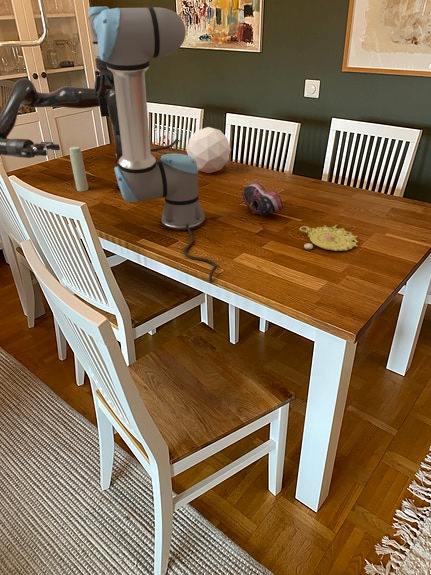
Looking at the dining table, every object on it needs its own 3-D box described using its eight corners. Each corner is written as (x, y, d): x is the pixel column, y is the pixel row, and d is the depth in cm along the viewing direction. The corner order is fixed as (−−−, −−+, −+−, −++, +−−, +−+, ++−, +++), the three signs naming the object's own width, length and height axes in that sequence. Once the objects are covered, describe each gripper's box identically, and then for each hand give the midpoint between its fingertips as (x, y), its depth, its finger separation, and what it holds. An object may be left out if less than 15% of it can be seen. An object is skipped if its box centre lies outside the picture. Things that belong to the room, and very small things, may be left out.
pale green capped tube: (90, 188, 188) (83, 147, 178) (82, 192, 184) (74, 150, 175) (82, 186, 190) (74, 145, 181) (74, 190, 187) (65, 148, 177)
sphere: (214, 188, 203) (213, 162, 184) (180, 167, 207) (175, 139, 188) (238, 160, 207) (239, 131, 189) (204, 140, 212) (202, 110, 193)
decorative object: (343, 255, 128) (285, 234, 139) (342, 262, 130) (284, 241, 140) (372, 230, 142) (317, 213, 152) (371, 237, 143) (316, 219, 153)
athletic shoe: (254, 181, 170) (227, 189, 167) (283, 176, 151) (253, 185, 147) (260, 210, 173) (234, 218, 170) (290, 209, 154) (261, 219, 150)
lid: (117, 191, 184) (116, 186, 183) (117, 186, 189) (117, 181, 188) (130, 190, 185) (130, 185, 183) (131, 185, 189) (130, 180, 188)
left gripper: (34, 152, 194) (65, 154, 189) (11, 161, 183) (44, 164, 178) (29, 134, 190) (61, 136, 185) (6, 143, 179) (39, 145, 174)
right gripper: (134, 57, 155) (141, 121, 166) (95, 54, 170) (104, 112, 181) (116, 59, 150) (124, 124, 162) (78, 56, 165) (88, 115, 177)
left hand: (52, 150), depth 182 cm, fingers open, 8 cm apart
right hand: (114, 118), depth 171 cm, fingers open, 13 cm apart
